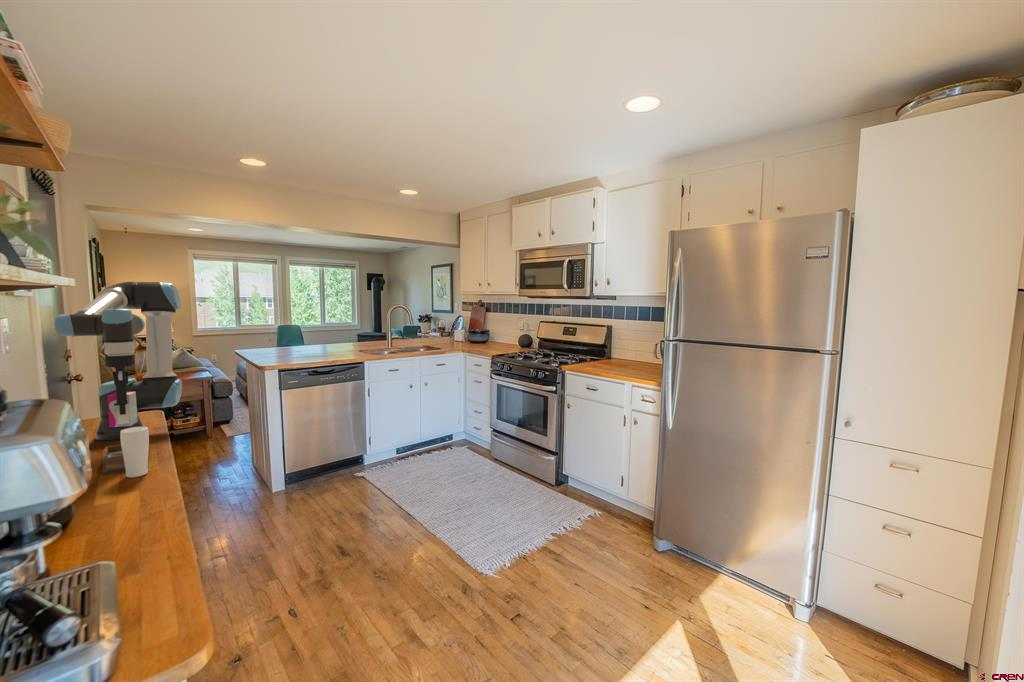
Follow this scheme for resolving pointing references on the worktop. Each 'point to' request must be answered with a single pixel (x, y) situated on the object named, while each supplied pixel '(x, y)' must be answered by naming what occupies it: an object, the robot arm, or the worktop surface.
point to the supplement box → (131, 411)
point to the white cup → (135, 450)
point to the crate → (113, 459)
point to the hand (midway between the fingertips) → (123, 421)
